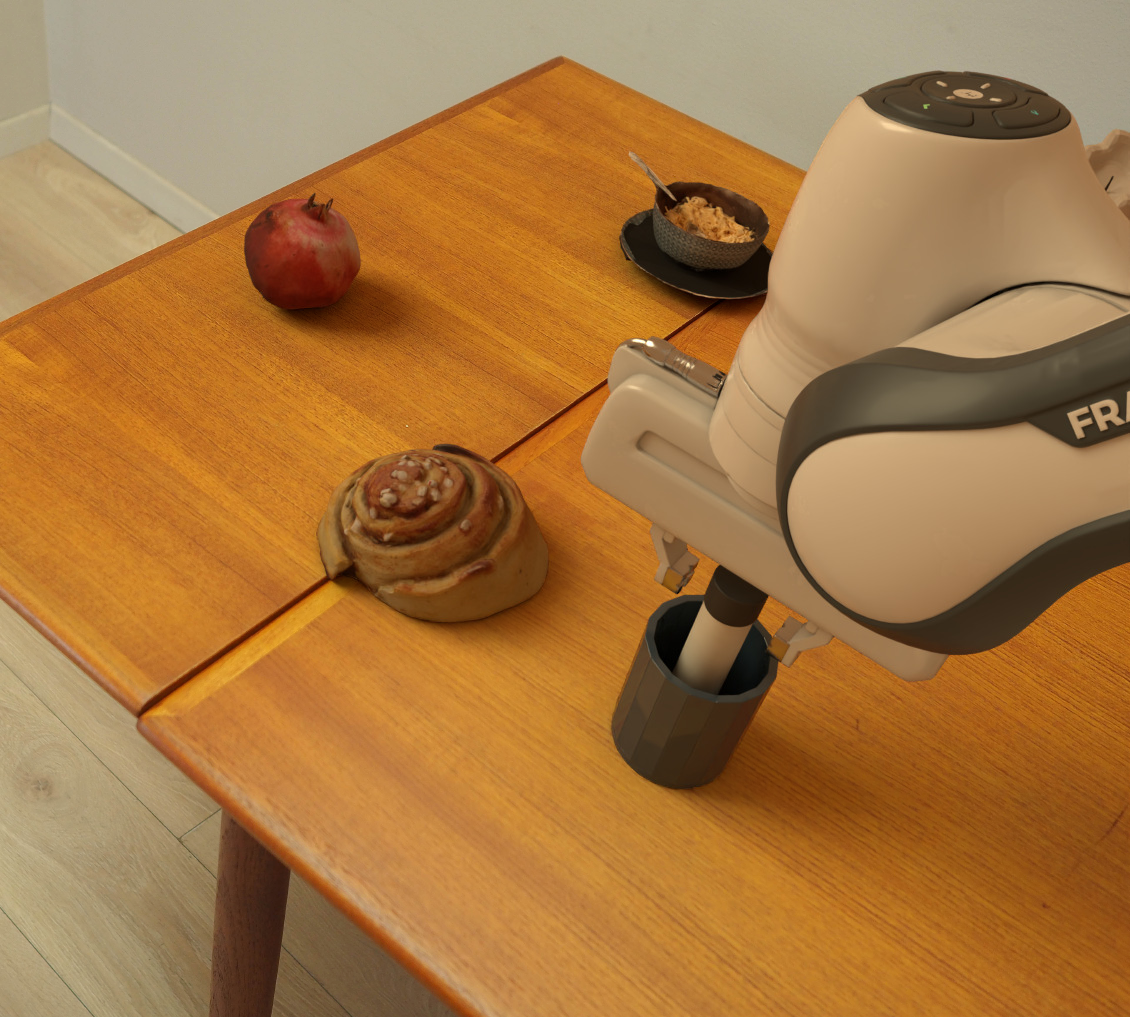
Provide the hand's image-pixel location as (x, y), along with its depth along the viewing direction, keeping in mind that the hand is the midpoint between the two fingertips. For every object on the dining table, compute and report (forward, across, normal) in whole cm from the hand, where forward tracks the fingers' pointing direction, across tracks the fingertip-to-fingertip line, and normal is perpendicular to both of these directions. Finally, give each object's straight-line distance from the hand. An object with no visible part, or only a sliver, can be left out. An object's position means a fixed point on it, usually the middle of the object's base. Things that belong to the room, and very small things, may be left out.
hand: (726, 616), depth 62 cm
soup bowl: (+12, -26, +46) cm, 54 cm away
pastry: (+12, -20, +1) cm, 23 cm away
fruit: (+12, -46, +15) cm, 50 cm away
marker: (+11, 0, 0) cm, 11 cm away
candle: (+12, +1, +53) cm, 54 cm away
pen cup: (+12, 0, 0) cm, 12 cm away
